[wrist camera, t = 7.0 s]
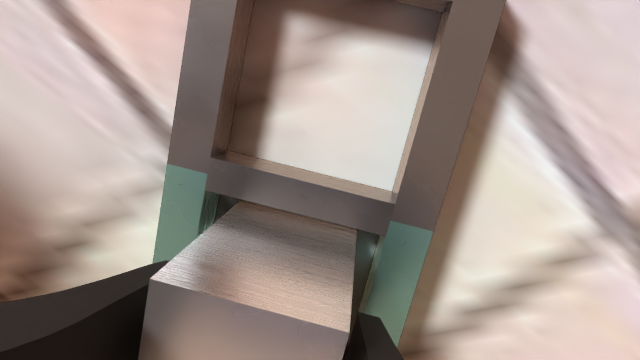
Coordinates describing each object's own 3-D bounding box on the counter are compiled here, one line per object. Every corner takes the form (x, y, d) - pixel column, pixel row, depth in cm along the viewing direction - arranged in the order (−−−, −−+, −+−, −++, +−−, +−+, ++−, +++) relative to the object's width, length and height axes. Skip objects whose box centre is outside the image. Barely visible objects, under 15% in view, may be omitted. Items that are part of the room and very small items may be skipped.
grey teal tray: (159, 337, 15) (137, 363, 14) (224, -75, 12) (205, -98, 11) (370, 396, 15) (371, 430, 13) (496, -16, 12) (515, -30, 10)
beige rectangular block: (220, 304, 15) (125, 442, 9) (241, 199, 14) (150, 278, 8) (329, 334, 15) (303, 496, 9) (356, 229, 14) (349, 333, 8)
